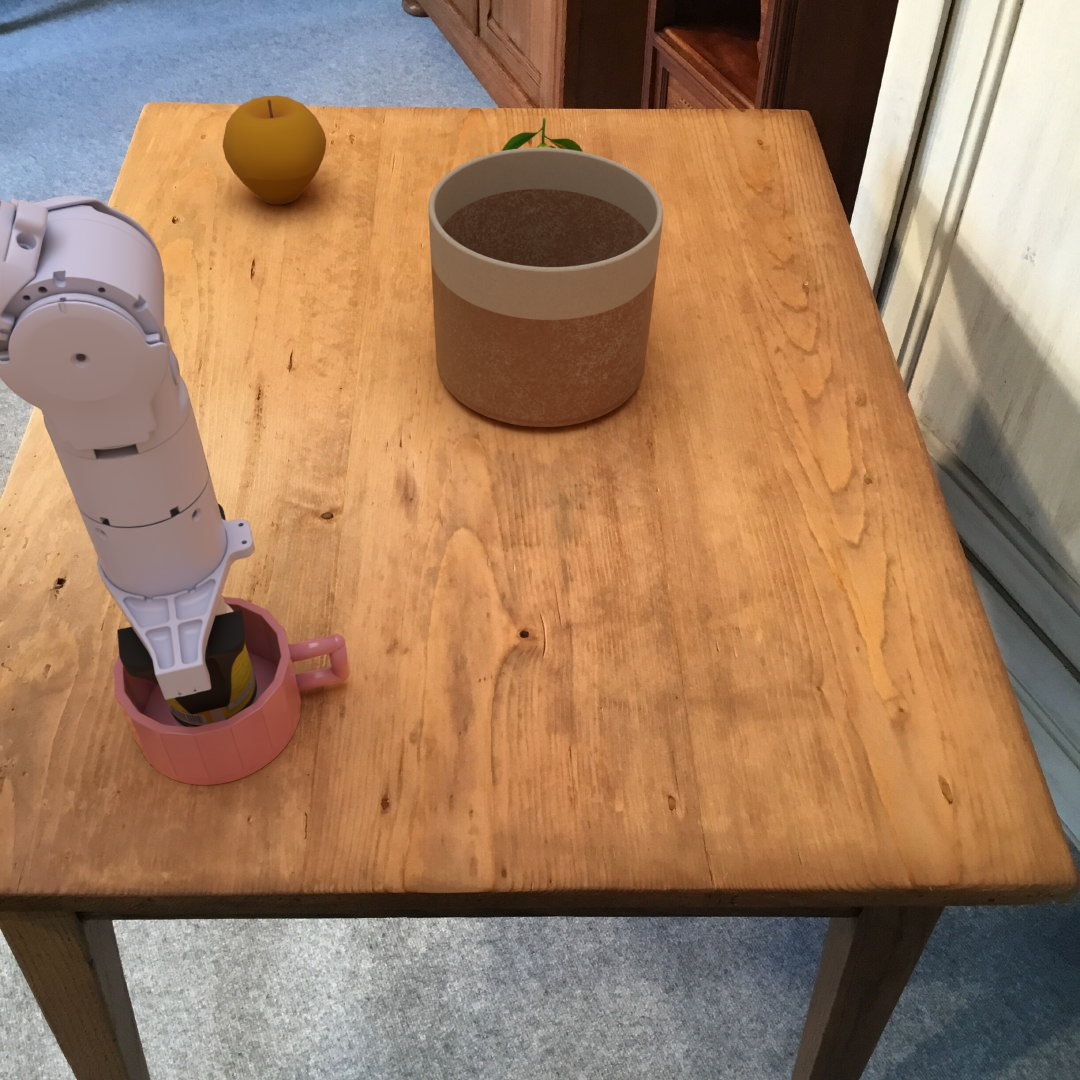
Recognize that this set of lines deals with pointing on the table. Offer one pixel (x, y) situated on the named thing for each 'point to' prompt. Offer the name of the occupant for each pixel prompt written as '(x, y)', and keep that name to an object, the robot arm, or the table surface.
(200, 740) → the pink mug
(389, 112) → the table surface
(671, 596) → the table surface
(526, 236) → the planter
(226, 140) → the apple
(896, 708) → the table surface
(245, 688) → the supplement bottle
